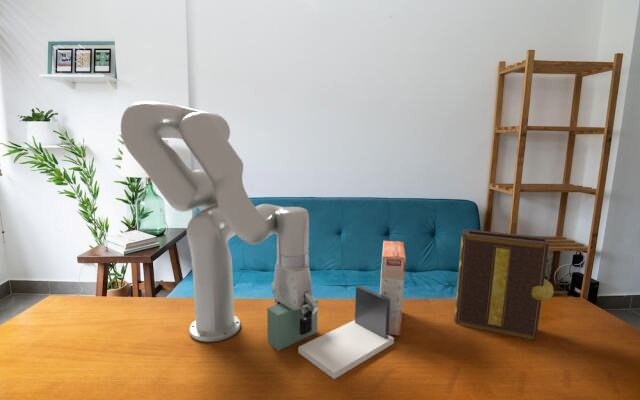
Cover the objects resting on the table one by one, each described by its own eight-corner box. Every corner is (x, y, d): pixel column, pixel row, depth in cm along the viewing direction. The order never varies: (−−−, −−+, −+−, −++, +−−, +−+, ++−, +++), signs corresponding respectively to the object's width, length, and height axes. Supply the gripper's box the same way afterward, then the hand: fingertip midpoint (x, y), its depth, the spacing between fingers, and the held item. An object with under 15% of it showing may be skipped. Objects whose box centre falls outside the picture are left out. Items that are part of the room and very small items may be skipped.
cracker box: (401, 337, 91) (406, 257, 87) (377, 334, 92) (381, 255, 88) (400, 310, 104) (404, 241, 100) (379, 308, 105) (382, 239, 101)
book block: (267, 342, 88) (267, 308, 86) (306, 325, 95) (306, 293, 94) (278, 350, 84) (278, 315, 83) (317, 332, 92) (317, 300, 90)
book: (453, 326, 96) (461, 235, 91) (454, 312, 104) (462, 227, 99) (549, 345, 88) (563, 246, 83) (543, 328, 96) (555, 237, 91)
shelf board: (298, 352, 84) (298, 346, 83) (357, 323, 97) (357, 318, 96) (334, 379, 75) (334, 372, 74) (393, 343, 88) (393, 337, 87)
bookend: (354, 322, 94) (355, 286, 92) (357, 321, 95) (359, 285, 93) (385, 339, 87) (387, 300, 85) (388, 337, 88) (390, 299, 86)
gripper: (260, 253, 90) (261, 316, 93) (303, 273, 77) (303, 345, 80) (284, 247, 95) (285, 307, 98) (329, 265, 82) (328, 333, 85)
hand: (293, 324), depth 89 cm, fingers open, 9 cm apart
